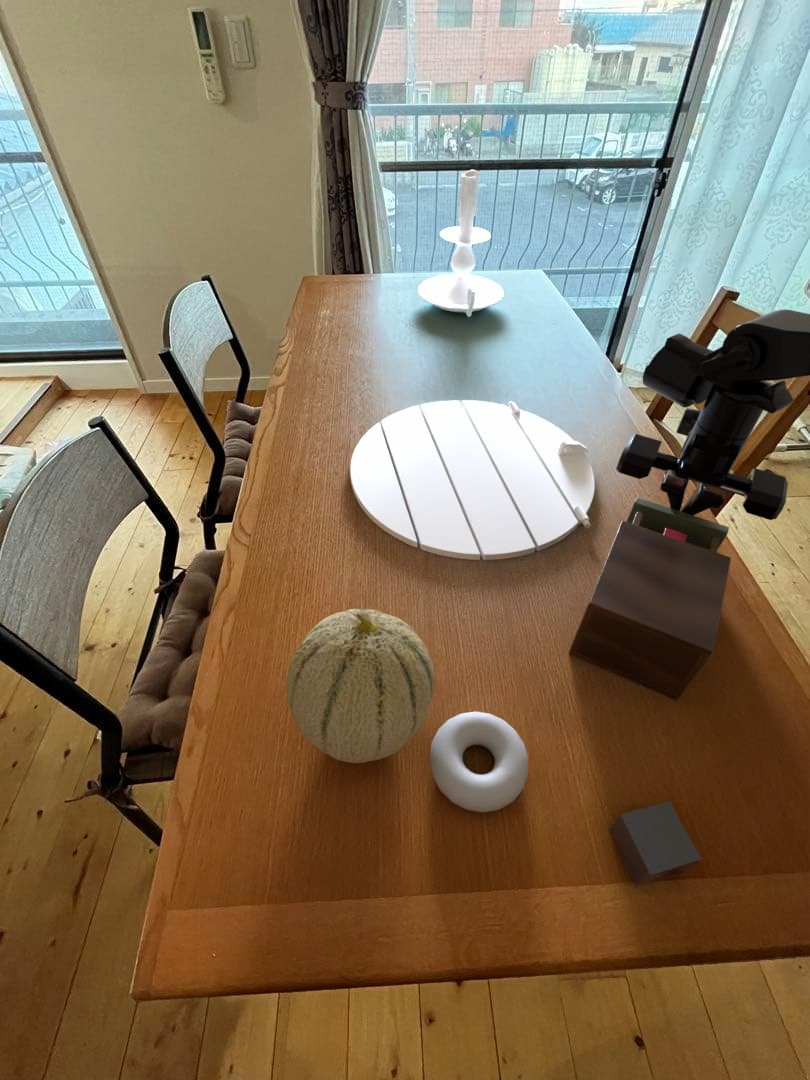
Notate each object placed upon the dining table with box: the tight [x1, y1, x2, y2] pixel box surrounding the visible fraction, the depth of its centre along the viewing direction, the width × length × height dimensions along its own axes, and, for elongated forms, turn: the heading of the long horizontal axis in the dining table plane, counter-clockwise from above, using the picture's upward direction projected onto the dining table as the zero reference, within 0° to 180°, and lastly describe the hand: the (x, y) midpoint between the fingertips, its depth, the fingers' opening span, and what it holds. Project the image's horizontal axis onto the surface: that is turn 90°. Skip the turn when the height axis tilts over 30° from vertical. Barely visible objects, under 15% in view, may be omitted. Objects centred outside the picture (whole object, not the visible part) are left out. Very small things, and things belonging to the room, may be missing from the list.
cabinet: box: [568, 520, 732, 701], centre depth 65 cm, size 15×13×10 cm
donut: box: [429, 711, 529, 814], centre depth 56 cm, size 10×4×10 cm
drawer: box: [625, 497, 730, 553], centre depth 71 cm, size 18×11×8 cm, turn 151°
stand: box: [608, 800, 702, 887], centre depth 50 cm, size 5×5×4 cm
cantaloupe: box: [285, 608, 435, 764], centre depth 55 cm, size 15×15×15 cm
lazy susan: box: [349, 399, 596, 561], centre depth 89 cm, size 40×39×3 cm
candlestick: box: [417, 169, 505, 317], centre depth 124 cm, size 21×25×28 cm
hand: (674, 523), depth 74 cm, fingers closed, pressing on drawer
